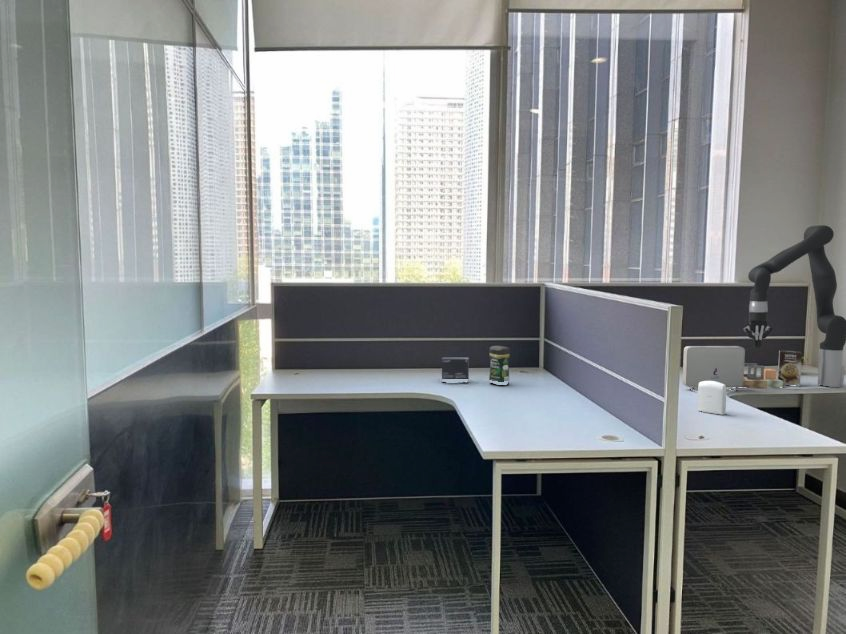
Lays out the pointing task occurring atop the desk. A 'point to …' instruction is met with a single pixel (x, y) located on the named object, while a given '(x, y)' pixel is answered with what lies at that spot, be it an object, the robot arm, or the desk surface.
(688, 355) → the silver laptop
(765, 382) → the wooden cubby panel
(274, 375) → the desk surface
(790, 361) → the coffee box
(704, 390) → the photo printer
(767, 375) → the block
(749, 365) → the square frames
